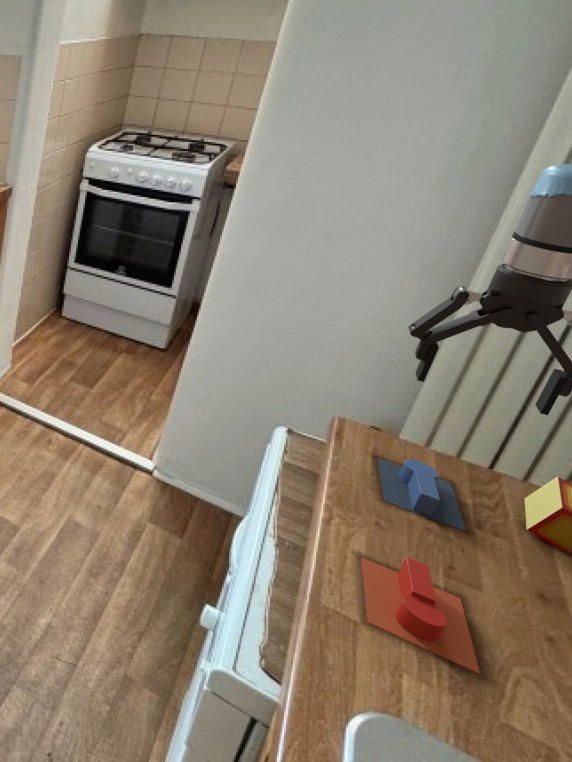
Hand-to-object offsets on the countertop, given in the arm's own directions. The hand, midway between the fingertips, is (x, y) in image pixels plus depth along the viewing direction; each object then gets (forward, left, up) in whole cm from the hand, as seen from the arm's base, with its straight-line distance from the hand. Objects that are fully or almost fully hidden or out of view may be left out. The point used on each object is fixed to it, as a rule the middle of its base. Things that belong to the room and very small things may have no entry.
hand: (477, 393), depth 94 cm
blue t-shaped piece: (0, -2, -23) cm, 23 cm away
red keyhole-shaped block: (+4, +27, -23) cm, 35 cm away
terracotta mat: (+4, +27, -23) cm, 36 cm away
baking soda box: (-14, -6, -19) cm, 24 cm away
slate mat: (0, -3, -23) cm, 23 cm away
